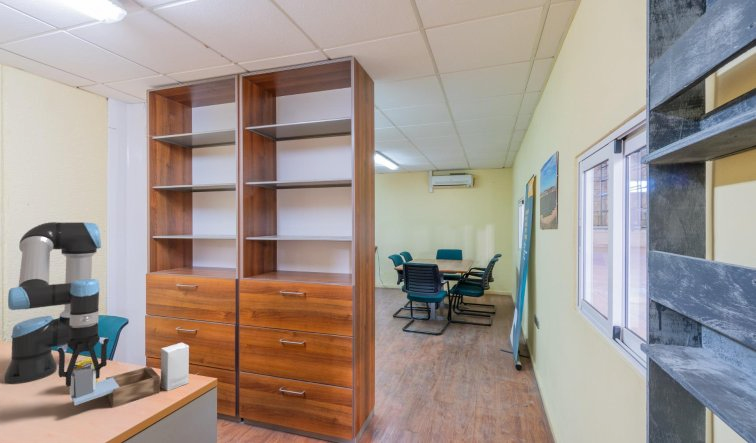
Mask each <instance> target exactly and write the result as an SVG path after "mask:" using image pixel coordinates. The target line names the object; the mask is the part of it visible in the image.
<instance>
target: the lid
mask: <svg viewBox="0 0 756 443" xmlns="http://www.w3.org/2000/svg"><path fill="white" fill-rule="evenodd" d="M73 375H74V396H71V395H70V397H71V399H72V403H73V405H74V406H78V405H80V404H83V403H86V402H89V401H91V400H95V399H98V398H101V397H104V396H106V395H107V394H109V393H112V392H113V389H116V388H119V385H118V384H117V383H116V381H115V380H114V378H113V377H112V378H109V379H106V378H105V379H103V380H100V381H97V383H96V389H95V390H93V374H92V369H91V367H90V366H87V367H84V368H80V369H77V370H73Z"/></svg>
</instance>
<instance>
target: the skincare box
mask: <svg viewBox="0 0 756 443" xmlns="http://www.w3.org/2000/svg"><path fill="white" fill-rule="evenodd" d="M189 351H190V345H188V344H187V343H184V342H178V343H175V344H172V345H169V346H165V347H161V349H160V359H161V360H160V387H161V388H162V387H163V388H162V389H164V390H166V391H167V392H169V391H171V390H174V389H177V388H179V387H181V386H184V385H186V384H187V385H188V384H189V370H190V368H189V364H190V362H189V361H190V359H189V358H190V357H189V356H190V352H189Z"/></svg>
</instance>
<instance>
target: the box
mask: <svg viewBox="0 0 756 443" xmlns="http://www.w3.org/2000/svg"><path fill="white" fill-rule="evenodd" d="M112 377H113V378H114V380H115V381H116V383H117V384H118V385H119V388H116V389H113V392H112V393H109V394H107V395H105V396H106V398H107V399H108V401H109V403H110V405H111V407H112V408H116V407H120V406H123V405H126V404H129V403H132V402H136V401H139V400H142V399H145V398H148V397H150V396H153V395H157V394H160V384H161V375H159V374H158V373H157V372H156V371H155V370H154V369H153V368H152V366H146V367H142V368H138V369H134V370H131V371H127V372H123V373H119V374H116V375H111V376H107V377H106V378H105V380H106V379H109V378H112Z"/></svg>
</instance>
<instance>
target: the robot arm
mask: <svg viewBox="0 0 756 443" xmlns="http://www.w3.org/2000/svg"><path fill="white" fill-rule="evenodd" d="M101 243H102V241H101V232H100V229H99V226H98V225H97V224H96V223H94V222H85V221H83V222H80V221H79V222H73V221H72V222H71V221H70V222H56V221H55V222H54V221H53V222H52V221H51V222H44V223H41V224H38V225H36V226H33V227H32V228H30V229H29V230H28V231H26V232H25V234H23V235H22V237H21V239H20V241H19V244H18V247H19V251H20V252H21V262H20V270H19V279H18V286H16V287H11V288H10V289H9V290H8V296H7V306H8V310H11V311H18V310H29V309H30V310H31V309H37V308H38V309H39V308H47V307H53V306H55V307H57V306H64V310H63V311H61V313H59V318H53V316H51V315H47V316H39V317H34V318H33V317H32V318H29V319H27V320H23V321H21V322H18V323H17V324H15V325H14V326H13V328H12V332H11V339H12V340H11V357H10V358H11V359H10V363H9V365H8V367H7V369H6V371H5V374H4V381H5V383H6V384H22V383H28V382H33V381H36V380H40V379H43V378H46V377H48V376H50V375H53V374H54V373H56V371H57V370H58V376H59V377H60V378H65V386H66V387H67V388H68V387H69V395H70V397H71V396H74V375H73V374H72V372H73V369H74V366H75V363H76V362H77V360H78V357H79V355H80V354H81V353H83V352H89V355H90V359H92V361H93V364H94V367H95V369H92V374H93V390H95V389H96V379H98V380H99V379H100V374H101V371H100V370H101V369H102V368H103V367H104V368H105V367H106V366H107V361H108V360H107V359H108V358H107V357H108V356H107V354H108V353H107V350H108V347H107V346H108V345H109V344H108V343H109V340H110V339H109V338H108V337H107V336H105V337H100V335H99V309H100V308H99V303H100V302H99V301H100V289H101V288H100V282H99V280H98V279H94V278H92V271H93V270H92V267H93V266H92V265H93V256H94V255H96V254H97V250H98V249H101V248H102V244H101ZM53 250H61V254H62V255H63V256H64V257H65V279H64V280H65V282H64V283H57V284H56V283H53V284H50V264H51V263H50V262H51V261H50V260H51V258H50V256H51V252H52V251H53ZM98 343H99V344H100V363H99V359H98V357H97V354H96V351H95V348H94V347H96V345H97V344H98ZM53 347H56V349H57V350H56V351H57V352H58V364H57V362H56V359H55V358H54V356H53V353H52V348H53ZM68 348H69V349H70V350H72V354H71V357H70V360H69V362H68V363H69V364H68V366H67V369H66V371H65V366H66V364H65V362H66V352H67V351H68ZM97 359H98V360H97ZM57 368H58V369H57Z"/></svg>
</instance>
